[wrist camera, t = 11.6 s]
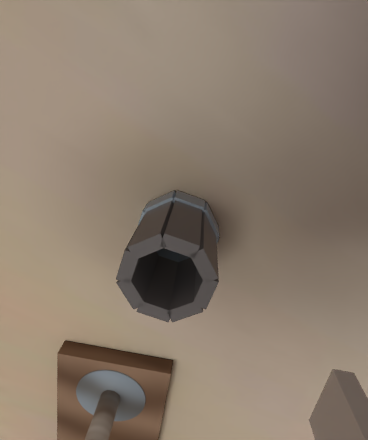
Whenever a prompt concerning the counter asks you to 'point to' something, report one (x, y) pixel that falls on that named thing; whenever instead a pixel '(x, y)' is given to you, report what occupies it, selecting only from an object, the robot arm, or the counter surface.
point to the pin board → (111, 360)
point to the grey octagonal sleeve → (171, 258)
